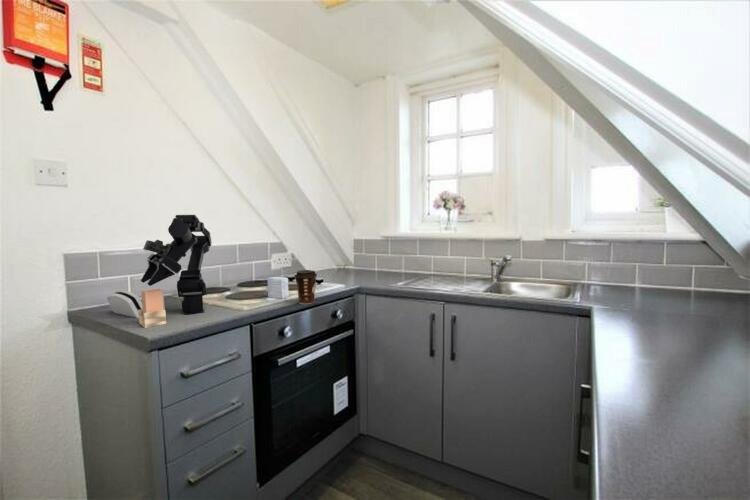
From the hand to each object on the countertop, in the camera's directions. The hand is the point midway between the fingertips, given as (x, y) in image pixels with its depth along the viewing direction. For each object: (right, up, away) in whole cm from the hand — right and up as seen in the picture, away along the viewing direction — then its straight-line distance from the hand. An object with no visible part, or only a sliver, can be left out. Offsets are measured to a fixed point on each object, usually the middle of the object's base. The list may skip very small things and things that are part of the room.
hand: (145, 283), depth 117 cm
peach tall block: (+2, -12, +2) cm, 13 cm away
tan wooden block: (+1, -13, +2) cm, 14 cm away
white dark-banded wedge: (-15, -13, +14) cm, 24 cm away
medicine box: (+33, -10, +39) cm, 52 cm away
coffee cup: (+47, -11, +29) cm, 56 cm away
